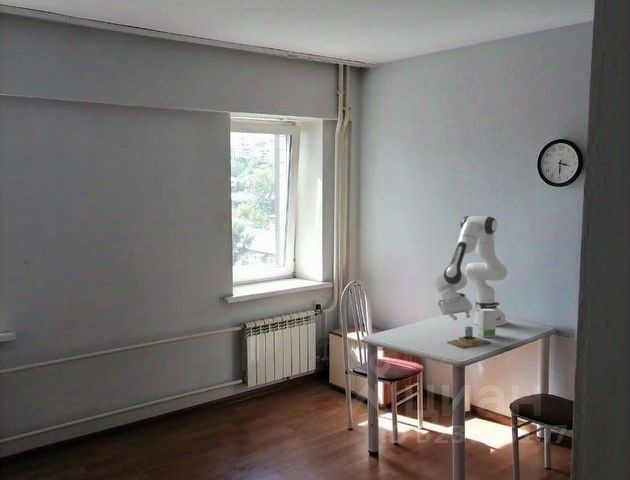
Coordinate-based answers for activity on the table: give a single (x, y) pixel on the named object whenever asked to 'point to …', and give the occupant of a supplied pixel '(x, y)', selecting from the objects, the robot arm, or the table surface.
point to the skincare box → (487, 323)
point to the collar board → (468, 342)
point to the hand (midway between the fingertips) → (462, 318)
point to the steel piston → (468, 333)
